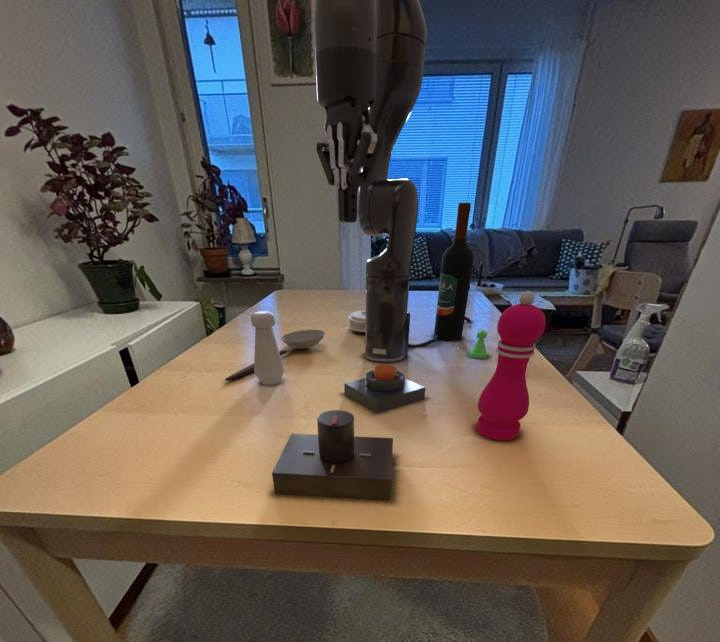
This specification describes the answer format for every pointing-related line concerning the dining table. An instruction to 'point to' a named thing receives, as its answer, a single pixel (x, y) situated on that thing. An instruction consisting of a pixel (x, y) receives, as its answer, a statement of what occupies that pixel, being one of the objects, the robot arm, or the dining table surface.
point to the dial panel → (335, 469)
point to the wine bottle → (454, 282)
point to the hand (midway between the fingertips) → (347, 222)
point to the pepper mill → (511, 371)
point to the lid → (357, 321)
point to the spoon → (294, 341)
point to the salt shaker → (266, 349)
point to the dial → (336, 436)
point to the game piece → (479, 346)
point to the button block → (384, 392)
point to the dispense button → (385, 372)
